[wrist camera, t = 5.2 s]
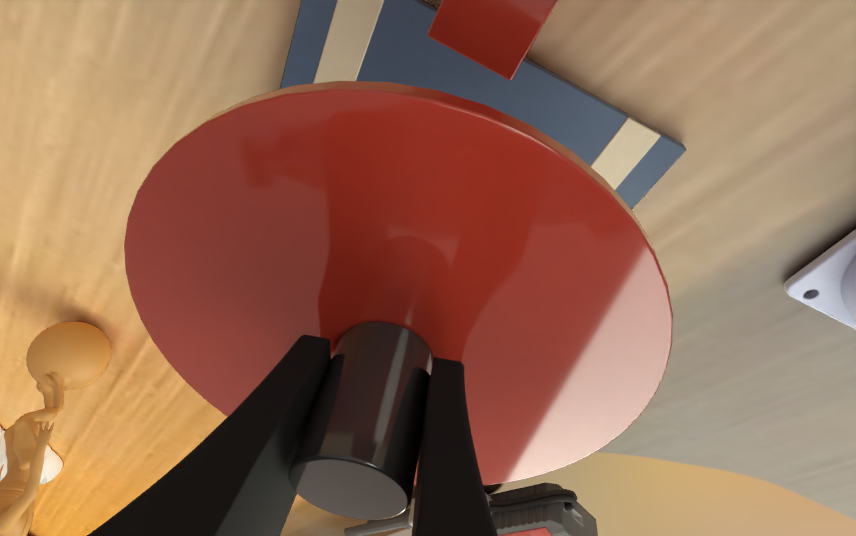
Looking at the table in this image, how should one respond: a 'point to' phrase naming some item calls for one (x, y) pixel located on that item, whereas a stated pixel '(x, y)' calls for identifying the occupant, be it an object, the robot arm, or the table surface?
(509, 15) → the pot
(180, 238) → the lid
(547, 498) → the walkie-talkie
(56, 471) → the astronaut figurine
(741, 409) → the table surface
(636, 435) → the table surface
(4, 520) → the figurine
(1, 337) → the table surface
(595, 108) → the towel
